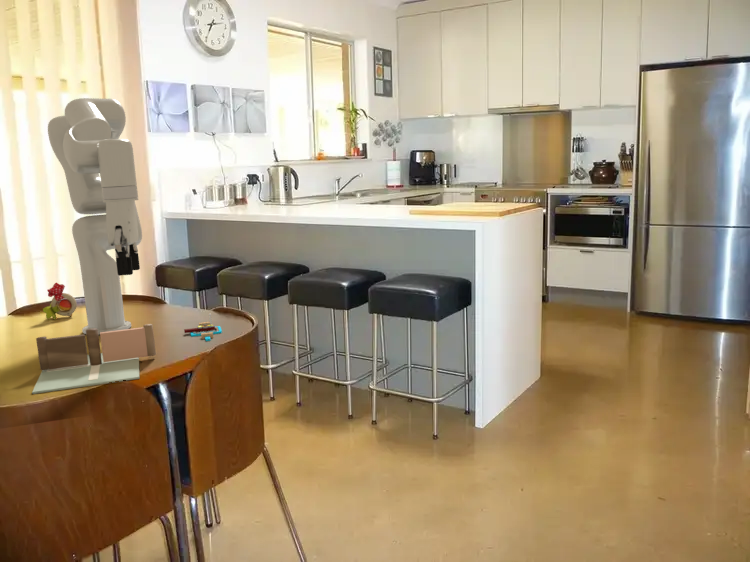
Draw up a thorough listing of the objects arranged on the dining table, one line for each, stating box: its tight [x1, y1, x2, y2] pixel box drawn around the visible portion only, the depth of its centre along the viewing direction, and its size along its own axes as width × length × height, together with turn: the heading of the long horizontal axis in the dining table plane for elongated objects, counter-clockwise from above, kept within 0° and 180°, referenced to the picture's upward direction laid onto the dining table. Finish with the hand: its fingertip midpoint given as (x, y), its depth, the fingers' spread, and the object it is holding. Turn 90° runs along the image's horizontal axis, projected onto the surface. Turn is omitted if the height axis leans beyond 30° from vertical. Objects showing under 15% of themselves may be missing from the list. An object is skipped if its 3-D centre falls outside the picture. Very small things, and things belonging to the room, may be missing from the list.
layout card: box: [31, 352, 140, 395], centre depth 146 cm, size 25×20×1 cm
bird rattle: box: [42, 282, 78, 320], centre depth 204 cm, size 6×11×9 cm
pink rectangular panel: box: [99, 323, 157, 362], centre depth 150 cm, size 2×11×7 cm, turn 110°
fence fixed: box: [35, 328, 102, 371], centre depth 147 cm, size 2×12×8 cm, turn 110°
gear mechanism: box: [183, 313, 223, 342], centre depth 175 cm, size 20×5×9 cm
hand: (129, 271), depth 154 cm, fingers open, 6 cm apart
